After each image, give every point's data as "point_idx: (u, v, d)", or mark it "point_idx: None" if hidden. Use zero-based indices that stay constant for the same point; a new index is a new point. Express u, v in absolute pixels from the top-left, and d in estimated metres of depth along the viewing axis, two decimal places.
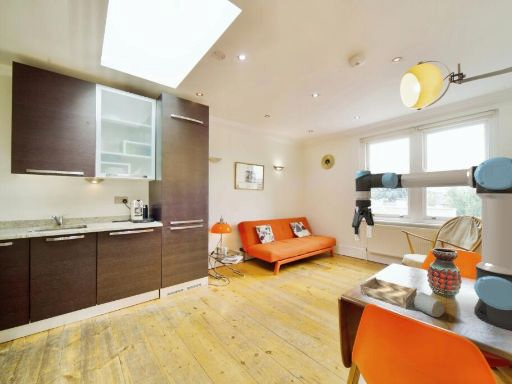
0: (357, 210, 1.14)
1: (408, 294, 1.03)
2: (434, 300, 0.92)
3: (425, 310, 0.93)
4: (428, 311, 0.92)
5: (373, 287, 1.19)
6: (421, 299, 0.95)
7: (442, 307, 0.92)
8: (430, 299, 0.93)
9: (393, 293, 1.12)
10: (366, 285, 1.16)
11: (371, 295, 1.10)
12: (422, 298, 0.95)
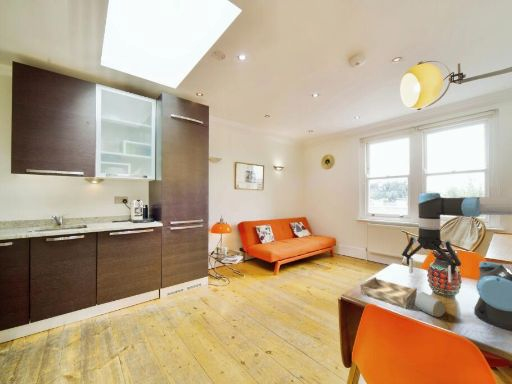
0: None
1: (408, 294, 1.03)
2: (435, 300, 0.92)
3: (426, 310, 0.94)
4: (429, 311, 0.92)
5: (373, 287, 1.19)
6: (422, 299, 0.95)
7: (443, 307, 0.92)
8: (431, 299, 0.93)
9: (393, 293, 1.12)
10: (366, 285, 1.16)
11: (371, 295, 1.10)
12: (423, 298, 0.95)
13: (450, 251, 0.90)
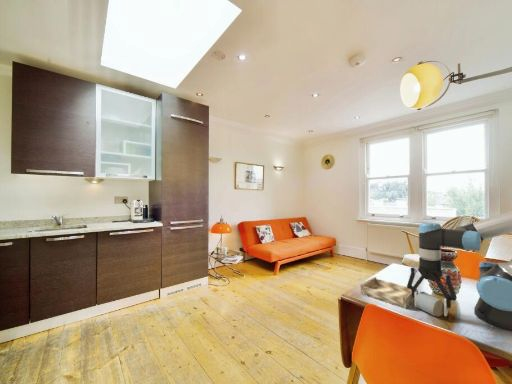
0: None
1: (408, 294, 1.03)
2: (435, 299, 0.93)
3: (426, 309, 0.94)
4: (429, 310, 0.93)
5: (373, 287, 1.19)
6: (422, 298, 0.96)
7: (443, 306, 0.92)
8: (431, 298, 0.94)
9: (393, 293, 1.12)
10: (366, 285, 1.16)
11: (371, 295, 1.10)
12: (423, 297, 0.96)
13: (449, 285, 0.90)
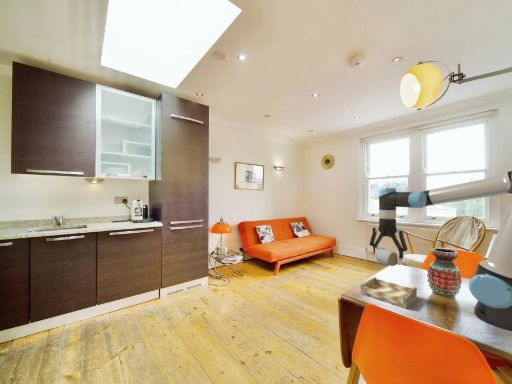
0: None
1: (408, 294, 1.03)
2: (390, 252, 1.09)
3: (383, 260, 1.10)
4: (385, 261, 1.09)
5: (373, 287, 1.19)
6: (380, 252, 1.12)
7: None
8: (387, 251, 1.10)
9: (393, 293, 1.12)
10: (366, 285, 1.16)
11: (371, 295, 1.10)
12: (381, 251, 1.12)
13: (401, 238, 1.07)
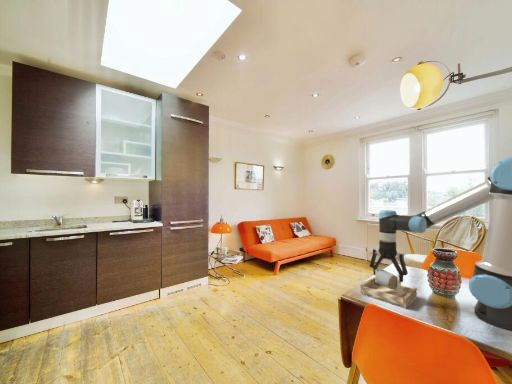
0: None
1: (408, 294, 1.03)
2: (390, 275, 1.09)
3: (383, 283, 1.10)
4: (385, 284, 1.09)
5: (373, 287, 1.19)
6: (380, 275, 1.12)
7: None
8: (387, 274, 1.10)
9: (393, 293, 1.12)
10: (366, 285, 1.16)
11: (371, 295, 1.10)
12: (381, 274, 1.12)
13: (401, 262, 1.07)
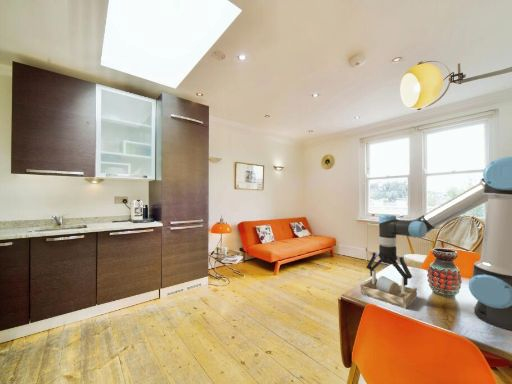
0: None
1: (408, 294, 1.03)
2: (391, 282, 1.09)
3: (384, 291, 1.10)
4: (386, 291, 1.09)
5: (373, 287, 1.19)
6: (381, 282, 1.12)
7: (398, 288, 1.08)
8: (388, 281, 1.10)
9: None
10: (366, 285, 1.16)
11: (371, 295, 1.10)
12: (382, 281, 1.12)
13: (403, 265, 1.06)
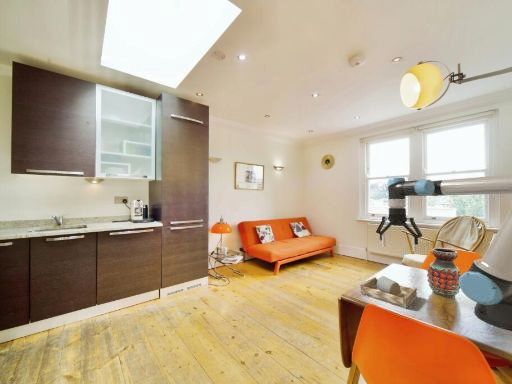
0: None
1: (408, 294, 1.03)
2: (392, 282, 1.09)
3: (385, 290, 1.10)
4: (387, 291, 1.09)
5: (373, 287, 1.19)
6: (382, 281, 1.12)
7: (398, 288, 1.09)
8: (389, 281, 1.10)
9: None
10: (366, 285, 1.16)
11: (371, 295, 1.10)
12: (383, 281, 1.12)
13: (413, 225, 1.08)
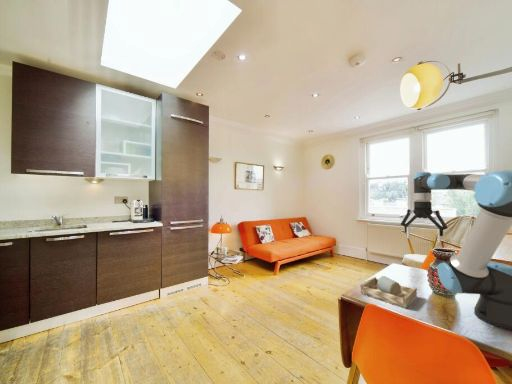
0: None
1: (408, 294, 1.03)
2: (392, 282, 1.09)
3: (385, 290, 1.10)
4: (387, 291, 1.09)
5: (373, 287, 1.19)
6: (382, 281, 1.12)
7: (399, 287, 1.09)
8: (389, 281, 1.10)
9: None
10: (366, 285, 1.16)
11: (371, 295, 1.10)
12: (383, 280, 1.12)
13: (439, 218, 1.13)
